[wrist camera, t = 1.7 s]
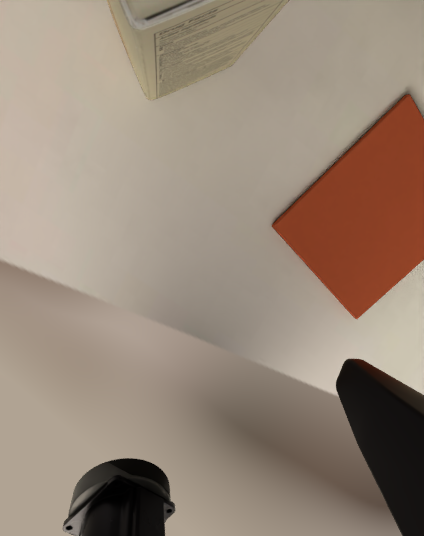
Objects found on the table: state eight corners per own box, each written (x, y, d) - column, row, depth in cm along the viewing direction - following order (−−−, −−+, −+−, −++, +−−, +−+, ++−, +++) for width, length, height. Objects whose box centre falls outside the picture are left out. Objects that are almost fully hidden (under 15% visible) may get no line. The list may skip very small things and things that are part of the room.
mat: (353, 317, 24) (356, 319, 24) (271, 225, 20) (273, 226, 20) (471, 211, 23) (476, 212, 22) (404, 94, 19) (410, 93, 19)
